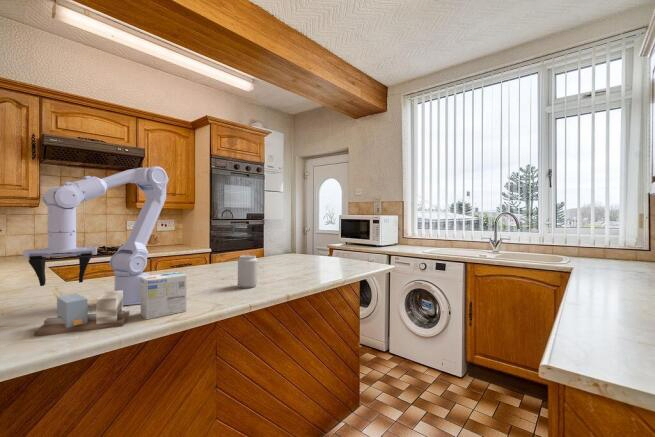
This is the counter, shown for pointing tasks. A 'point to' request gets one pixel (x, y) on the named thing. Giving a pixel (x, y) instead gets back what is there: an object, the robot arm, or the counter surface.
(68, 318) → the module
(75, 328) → the board
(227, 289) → the counter surface
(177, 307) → the light bulb box
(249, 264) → the can
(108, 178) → the robot arm
